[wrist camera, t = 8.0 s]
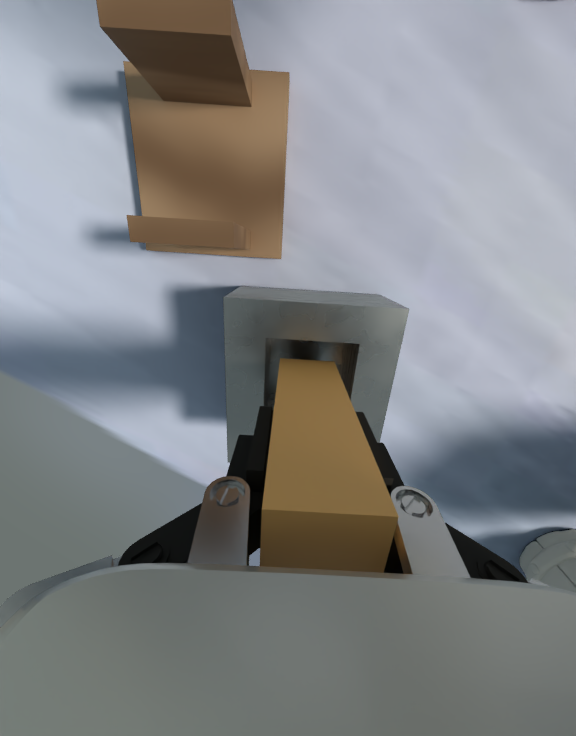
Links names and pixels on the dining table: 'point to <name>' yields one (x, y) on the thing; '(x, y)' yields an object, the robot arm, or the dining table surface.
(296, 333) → the port block
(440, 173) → the dining table surface
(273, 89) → the tan u-shaped piece
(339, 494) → the plug
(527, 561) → the mug
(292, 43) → the dining table surface
